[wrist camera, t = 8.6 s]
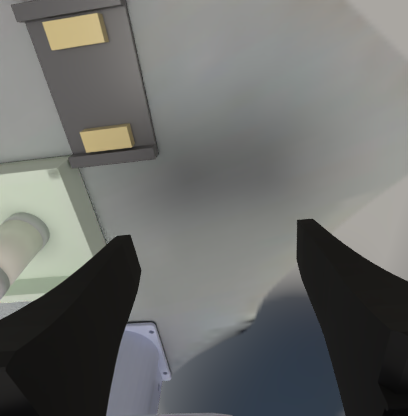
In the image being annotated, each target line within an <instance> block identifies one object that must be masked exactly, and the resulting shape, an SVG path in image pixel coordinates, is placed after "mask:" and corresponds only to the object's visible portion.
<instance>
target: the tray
mask: <svg viewBox="0 0 408 416" xmlns="http://www.w3.org/2000/svg"><path fill="white" fill-rule="evenodd" d="M70 156H71V155H68V156H60V157H52V158H43V159H35V160H26V161H18V162H9V163H1V164H0V225H1V224H2V223H3V222H4V221H5V220H6V219H7V218H8V217H9V216H11V215H12V214H14V213H18V212H25V213H29V214H32V215H34V216H36V217H38V218H39V219H41V220H42V221H43V222H44V223H45V224H46V226H47V227H48V229H49V233H50V238H49V241H48V242H47V244H46V245H45V246H44V247H43V248H42V250H41V251H40V252H38V253H37V255H36V256H35V257H34V258H33V260H32V261H31V262H30V263H29V264H28V266H27V267H26V268H25V269H24V270H23V272H22V273H21V274H20V275H19V277H18V278H17V279H16V280H15V281H14V283H13V284H12V285H11V286H10V288H9V290H8V291H7V292H6V294H5V295H4V296H3V297H2V298H1V300H0V303H10V302H25V301H35V300H36V299H38V298H40V297H41V296H43V295H44V294H46V293H47V292H49V291H50V290H52V289H53V288H55V287H56V286H57V285H59V284H60V283H62V282H63V281H64V280H66V279H67V278H68V277H69V276H71V275H72V274H73V273H74V272H75V271H77V270H78V269H79V268H80V267H82V266H83V265H84V264H85V263H86V262H88V261H89V260H90V259H91V258H92V257H93V256H94V255H96V254H97V253H98V252H99V251H100V250H101V249H102V248H103V247H105V246H106V243H105V240H104V237H103V235H102V232H101V229H100V226H99V224H98V221H97V218H96V215H95V213H94V210H93V207H92V204H91V202H90V199H89V196H88V193H87V191H86V188H85V185H84V182H83V179H82V177H81V174H80V171H79V168H73V169H72V167H71V165H70V162H69V159H68V157H70Z"/></svg>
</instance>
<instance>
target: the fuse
mask: <svg viewBox="0 0 408 416" xmlns="http://www.w3.org/2000/svg"><path fill="white" fill-rule="evenodd" d="M49 238H50V233H49V229H48V227H47V226H46V224H45V223H44V222H43V221H42V220H41V219H39V218H38V217H36V216H34V215H32V214H29V213H25V212H18V213H14V214H12V215H11V216H9V217H8V218H7V219H6V220H5V221H4V222H3V223H2V224H1V225H0V300H1V298H2V297H3V296H4V295H5V294H6V292H7V291H8V290H9V288H10V286H11V285H12V284H13V283H14V281H15V280H16V279H17V278H18V277H19V275H20V274H21V273H22V272H23V270H24V269H25V268H26V267H27V266H28V264H29V263H30V262H31V261H32V260H33V258H34V257H35V256H36V255H37V253H38V252H40V251H41V250H42V248H43V247H44V246H45V245H46V244H47V242H48V241H49Z"/></svg>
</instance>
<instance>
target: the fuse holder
mask: <svg viewBox="0 0 408 416" xmlns="http://www.w3.org/2000/svg"><path fill="white" fill-rule="evenodd" d="M11 7H12V10H13V12H14V15H15V18H16V20H17V22H24V23H26V26H27V29H28V32H29V34H30V37H31V40H32V43H33V45H34V48H35V51H36V54H37V56H38V59H39V62H40V65H41V67H42V70H43V73H44V76H45V78H46V81H47V84H48V87H49V89H50V92H51V95H52V98H53V100H54V103H55V106H56V109H57V111H58V114H59V117H60V120H61V122H62V125H63V128H64V131H65V133H66V136H67V139H68V142H69V144H70V147H71V150H72V153H73V154H72V155H71V156H70V157H68V159H69V162H70V165H71V167H72V169H73V168H82V167H91V166H99V165H108V164H117V163H126V162H135V161H144V160H152V159H156V157H157V155H158V153H159V152H158V148H157V143H156V139H155V134H154V129H153V125H152V120H151V115H150V111H149V106H148V102H147V97H146V92H145V88H144V83H143V79H142V74H141V69H140V65H139V60H138V55H137V51H136V46H135V42H134V37H133V32H132V28H131V23H130V19H129V14H128V9H127V5H126V0H35V1H30V2H24V3H18V4H13V5H11Z"/></svg>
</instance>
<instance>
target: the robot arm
mask: <svg viewBox="0 0 408 416" xmlns="http://www.w3.org/2000/svg"><path fill="white" fill-rule="evenodd" d="M297 263H298V267H299V270H300V274H301V278H302V281H303V284H304V286H305V289H306V291H307V293H308V296H309V299H310V301H311V304H312V306H313V309H314V311H315V313H316V316H317V318H318V321H319V323H320V326H321V328H322V332H323V334H324V337H325V341H326V344H327V348H328V351H329V355H330V358H331V361H332V365H333V369H334V373H335V376H336V380H337V384H338V387H339V391H340V395H341V399H342V403H343V407H344V411H345V415H346V416H408V281H406V280H404V279H402V278H400V277H398V276H395V275H393V274H392V273H390V272H388V271H386V270H384V269H382V268H381V267H379V266H377V265H375V264H373V263H372V262H370V261H369V260H367V259H365V258H364V257H362V256H361V255H359V254H358V253H356V252H355V251H353V250H352V249H350V248H349V247H348V246H346V245H345V244H343V243H342V242H341V241H339V240H338V239H337V238H336V237H334V236H333V235H332V234H331V233H329V232H328V231H327V230H326V229H324V228H323V227H322V226H321V225H320V224H318V223H317V222H316V221H315V220H313V219H304V220H297ZM140 275H141V268H140V264H139V261H138V258H137V255H136V251H135V248H134V245H133V242H132V238H131V235H122V236H116V237H115V238H114V239H113V240H111V241H110V242H109V243H108V244H107V245H106V246H105V247H103V248H102V249H101V250H100V251H99V252H98V253H97V254H96V255H94V256H93V257H92V258H91V259H90V260H89V261H88V262H86V263H85V264H84V265H83V266H82V267H80V268H79V269H78V270H77V271H75V272H74V273H73V274H72V275H71V276H69V277H68V278H67V279H66V280H64V281H63V282H62V283H60V284H59V285H57V286H56V287H55V288H53V289H52V290H50V291H49V292H47V293H46V294H44V295H43V296H41V297H40V298H38V299H36V300H35V301H33V302H31V303H30V304H28V305H26V306H25V307H23V308H21V309H20V310H18V311H16V312H14V313H12V314H10V315H8V316H7V317H5V318H3V319H1V320H0V416H232V415H225V414H217V413H189V414H157V411H158V405H159V399H160V393H161V386H162V381H169V380H171V373H170V369H169V366H168V363H167V360H166V357H165V353H164V350H163V347H162V344H161V341H160V338H159V334H158V331H157V328H156V325H155V324H154V323H151V322H149V323H131V324H127V321H128V318H129V316H130V313H131V310H132V307H133V304H134V301H135V297H136V294H137V291H138V286H139V281H140Z"/></svg>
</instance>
